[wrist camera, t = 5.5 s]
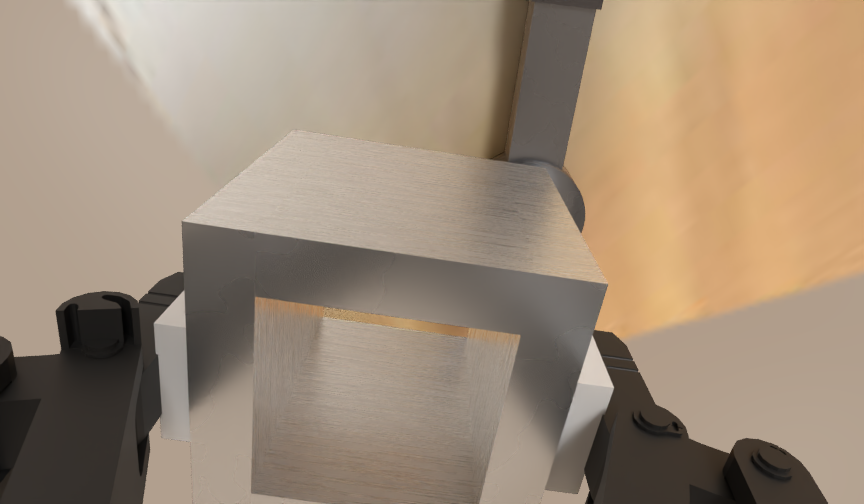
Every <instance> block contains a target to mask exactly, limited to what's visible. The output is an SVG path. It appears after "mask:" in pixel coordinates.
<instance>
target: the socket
mask: <svg viewBox="0 0 864 504" xmlns="http://www.w3.org/2000/svg"><path fill="white" fill-rule="evenodd" d="M182 240H183V264H184V265H183V267H184V293H185V319H186V345H187V371H188V398H189V424H190V449H191V476H192V499H193V500H192V502H193V504H540V503H541V499H542V497H543V493H544V490H545V487H546V484H547V480H548V477H549V474H550V471H551V467H552V464H553V461H554V458H555V455H556V451H557V448H558V445H559V442H560V438H561V435H562V432H563V429H564V425H565V422H566V419H567V416H568V412H569V409H570V406H571V403H572V400H573V396H574V393H575V390H576V387H577V383H578V380H579V377H580V374H581V370H582V367H583V364H584V361H585V357H586V354H587V351H588V348H589V345H590V341H591V338H592V335H593V332H594V328H595V325H596V322H597V319H598V315H599V312H600V309H601V306H602V303H603V299H604V296H605V293H606V290H607V286H608V283H607V281H606V279H605V277H604V276H603V274H602V272H601V270H600V268H599V266H598V264H597V263H596V261H595V259H594V257H593V255H592V253H591V251H590V250H589V248H588V246H587V244H586V242H585V240H584V238H583V237H582V235H581V233H580V231H579V229H578V227H577V226H576V224H575V222H574V220H573V218H572V216H571V214H570V213H569V211H568V209H567V207H566V205H565V203H564V201H563V200H562V198H561V196H560V194H559V192H558V190H557V188H556V187H555V185H554V183H553V181H552V179H551V177H550V175H549V174H548V172H547V170H546V168H543V167H536V166H530V165H523V164H517V163H510V162H504V161H497V160H490V159H484V158H477V157H471V156H464V155H458V154H451V153H445V152H438V151H432V150H425V149H419V148H412V147H405V146H399V145H392V144H386V143H379V142H373V141H366V140H360V139H353V138H347V137H340V136H333V135H327V134H320V133H314V132H307V131H301V130H294V129H293V130H292V131H291V132H290V133H289V134H287V135H286V136H285V137H284V138H283V139H281V140H280V141H279V142H278V143H276V144H275V145H274V146H273V147H272V148H270V149H269V150H268V151H267V152H265V153H264V154H263V155H262V156H261V157H259V158H258V159H257V160H256V161H255V162H253V163H252V164H251V165H250V166H248V167H247V168H246V169H245V170H244V171H242V172H241V173H240V174H239V175H237V176H236V177H235V178H234V179H233V180H231V181H230V182H229V183H228V184H226V185H225V186H224V187H223V188H222V189H220V190H219V191H218V192H217V193H216V194H214V195H213V196H212V197H211V198H209V199H208V200H207V201H206V202H205V203H203V204H202V205H201V206H200V207H198V208H197V209H196V210H195V211H194V212H192V213H191V214H190V215H189V216H188V217H186V218H185V219H184V220H183V221H182ZM324 307H329V308H336V309H343V310H350V311H357V312H364V313H371V314H378V315H384V316H391V317H398V318H405V319H412V320H419V321H426V322H433V323H440V324H447V325H454V326H461V327H468V328H469V330H468V335H467V338H466V337H459V336H452V335H445V334H438V333H431V332H424V331H417V330H410V329H403V328H396V327H389V326H382V325H375V324H368V323H362V322H355V321H348V320H341V319H334V318H327V317H323V312H324Z"/></svg>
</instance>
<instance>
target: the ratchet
mask: <svg viewBox="0 0 864 504" xmlns="http://www.w3.org/2000/svg"><path fill="white" fill-rule="evenodd" d="M527 1H529V5H528V11H527V17H526V24H525V30H524V36H523V42H522V48H521V54H520V60H519V66H518V72H517V79H516V85H515V91H514V97H513V103H512V109H511V115H510V121H509V127H508V133H507V140H506V146H505V152H504V153H502V154H500V155H498V156H496V157H494V158H493V159H491V160H497V161H504V162H510V163H517V164H523V165H530V166H536V167H543V168H546V170H547V172H548V174H549V175H550V177H551V179H552V181H553V183H554V185H555V187H556V188H557V190H558V192H559V194H560V196H561V198H562V200H563V201H564V203H565V205H566V207H567V209H568V211H569V213H570V214H571V216H572V218H573V220H574V222H575V224H576V226H577V227H578V229H579V231H580V233H581V232H582V229H583V226H584V221H585V206H584V202H583V198H582V195H581V193H580V191H579V189H578V188H577V186H576V184H575V183H574V181H573V179H572V178H571V176H570V174H569V173H568V171H567V169H566V168H565V167H564V166H563V164H564V159H565V154H566V149H567V145H568V140H569V135H570V130H571V126H572V121H573V116H574V111H575V107H576V102H577V97H578V92H579V88H580V83H581V78H582V74H583V69H584V64H585V59H586V55H587V50H588V45H589V40H590V36H591V31H592V26H593V21H594V17H595V12H596V9H600V10H601V8H602V3H603V0H527Z"/></svg>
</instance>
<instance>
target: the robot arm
mask: <svg viewBox="0 0 864 504" xmlns="http://www.w3.org/2000/svg"><path fill="white" fill-rule="evenodd" d="M56 317H57V324H58V330H59V337H60V344H61V352H60V354H55V355H43V356H26V357H14V355H13V350H12V346H11V342H10V341H8V340H7V339H5V338H4V337H1V336H0V504H142V503H143V496H144V489H145V481H146V475H147V468H148V460H149V453H150V443H149V431H150V430H151V429H152V427H153V426H154V425H155V423H156V422H157V420H158V419H159V417H160V423H161V437H162V438H164V439H171V440H179V441H186V442H190V424H189V398H188V371H187V345H186V319H185V293H184V273H182V272H177V273H175V274H173V275H171V276H168V277H166V278H164V279H162V280H160V281H159V282H158V283H157V284H156V285H155V286H154V287H153V288H151V289H150V290H149V291H148V294H145V295H144V296H143V297H142V298H141V299H140V300H139V303H138V301H137V300H136V299H134V298H133V297H132V296H130V295H127V294H123V293H120V292H106V291H103V292H94V293H87V294H84V295H80V296H77V297H74V298H72V299H70V300H68V301H66V302H64V303H62V304H61V306H60V307H59V308H58V309H57V310H56ZM584 474H585V476H586V479H587V483H588V486H589V490H590V491H589V494H588V497H587V500H586V503H585V504H828V502H827V501H826V499H825V497H824V496H823V494H822V493H821V491H820V489H819V488H818V486H817V484H816V483H815V481H814V479H813V478H812V476H811V474H810V473H809V472H808V471H807V469H806V468H805V467H804V466H803V464H802V463H801V462H800V461H799V460H797V459H796V458H795V457H794V456H792V455H791V454H790V453H788V452H787V451H786V450H784V449H782V448H779V447H778V446H776V445H774V444H772V443H768V442H765V441H762V440H759V439H749V438H745V439H742V440H738V441H737V442H736V443H735V445H734V447H733V449H732V450H731V452H730V454H729V453H726V452H723V451H720V450H717V449H714V448H712V447H709V446H706V445H703V444H701V443H698V442H696V441H693V440H691V439H689V437H688V433H687V430H686V427H685V426H684V425H683V423H682V422H681V421H680V420H679V419H678V418H677V417H676V416H674V415H673V414H672V413H670V412H669V411H668V410H666V409H664V408H662V407H660V406H657V405H656V404H655V402H654V400H653V398H652V397H651V394H650V393H649V391H648V388H647V386H646V384H645V382H644V380H643V378H642V376H641V374H640V373H639V372H638V368H637V366H636V364H635V362H634V361H633V358H632V356H631V354H630V352H629V350H628V348H627V346H626V345H625V344H624V343H623V342H622V341H621V340H620V339H619V338H618V337H617V336H615V335H614V334H613V333H611V332H604V331H597V330H594V332H593V335H592V338H591V341H590V345H589V348H588V351H587V354H586V357H585V361H584V364H583V367H582V370H581V374H580V377H579V380H578V383H577V387H576V390H575V393H574V396H573V400H572V403H571V406H570V409H569V412H568V416H567V419H566V422H565V425H564V429H563V432H562V435H561V438H560V442H559V445H558V448H557V451H556V455H555V458H554V461H553V464H552V467H551V471H550V474H549V477H548V480H547V484H546V487H545V490H550V491H557V492H565V493H572V494H578V492H579V489H580V486H581V483H582V480H583V477H584Z"/></svg>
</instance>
